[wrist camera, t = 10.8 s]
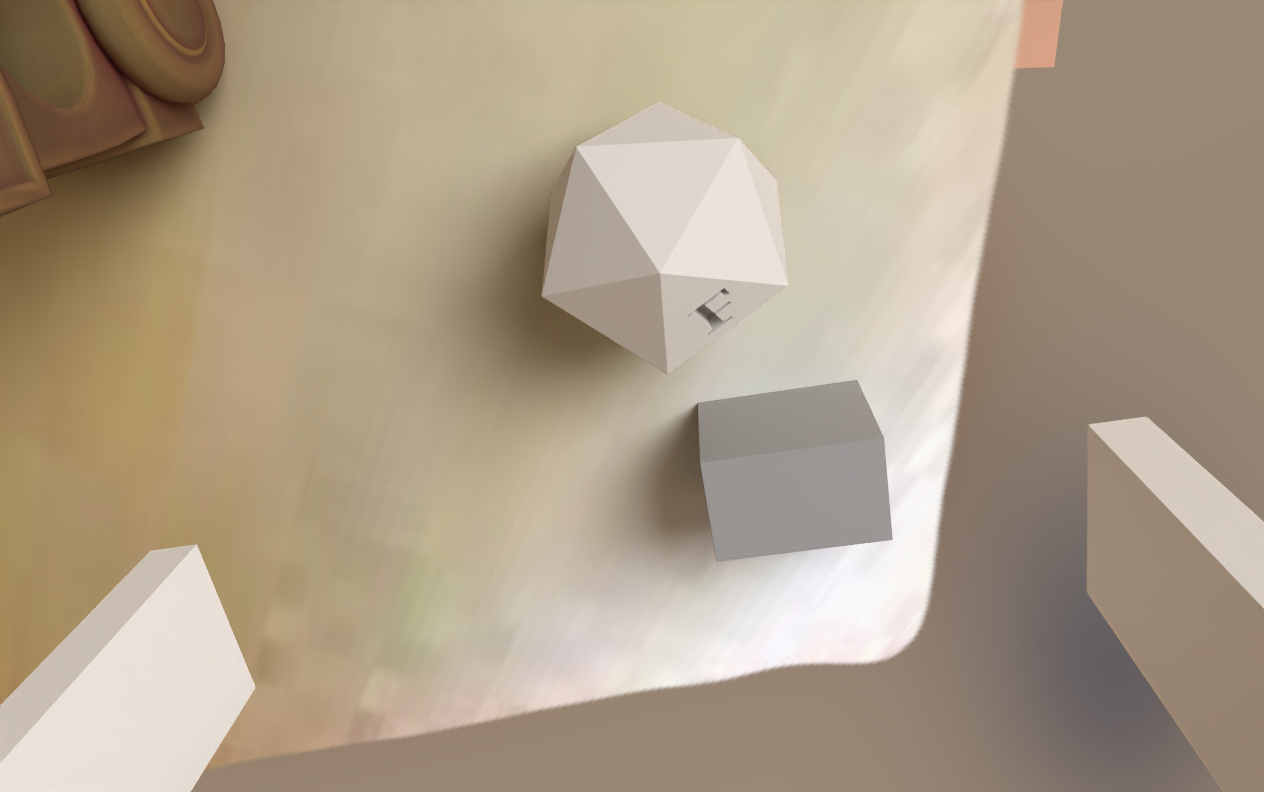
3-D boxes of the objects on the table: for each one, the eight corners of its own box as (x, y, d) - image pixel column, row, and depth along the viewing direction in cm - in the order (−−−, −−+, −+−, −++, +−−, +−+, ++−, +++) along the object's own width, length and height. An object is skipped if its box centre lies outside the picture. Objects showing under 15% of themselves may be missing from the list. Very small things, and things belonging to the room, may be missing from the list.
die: (653, 349, 41) (644, 450, 32) (516, 188, 38) (463, 246, 29) (814, 228, 38) (856, 299, 29) (679, 48, 36) (678, 64, 27)
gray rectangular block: (697, 402, 42) (699, 462, 36) (856, 379, 41) (883, 437, 35) (712, 490, 43) (716, 561, 38) (865, 470, 43) (892, 539, 37)
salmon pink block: (1030, -11, 62) (1064, -12, 57) (1022, 61, 64) (1054, 67, 58) (923, -7, 63) (946, -7, 57) (918, 65, 64) (940, 70, 59)
